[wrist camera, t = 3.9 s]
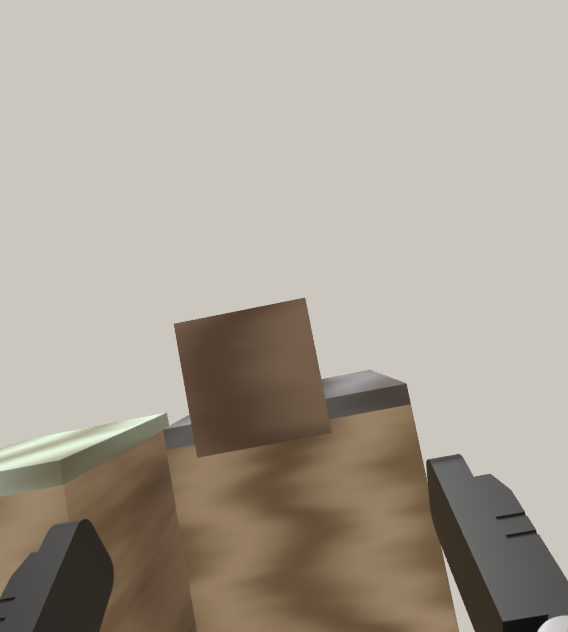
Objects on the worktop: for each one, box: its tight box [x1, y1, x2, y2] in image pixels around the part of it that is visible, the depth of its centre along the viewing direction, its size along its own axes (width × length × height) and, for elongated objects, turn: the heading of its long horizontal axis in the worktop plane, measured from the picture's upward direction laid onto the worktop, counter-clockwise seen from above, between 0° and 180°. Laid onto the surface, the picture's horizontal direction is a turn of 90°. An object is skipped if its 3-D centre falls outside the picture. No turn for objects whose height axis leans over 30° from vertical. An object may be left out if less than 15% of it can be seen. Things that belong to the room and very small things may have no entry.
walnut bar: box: [174, 298, 332, 458], centre depth 26 cm, size 4×24×4 cm, turn 176°
